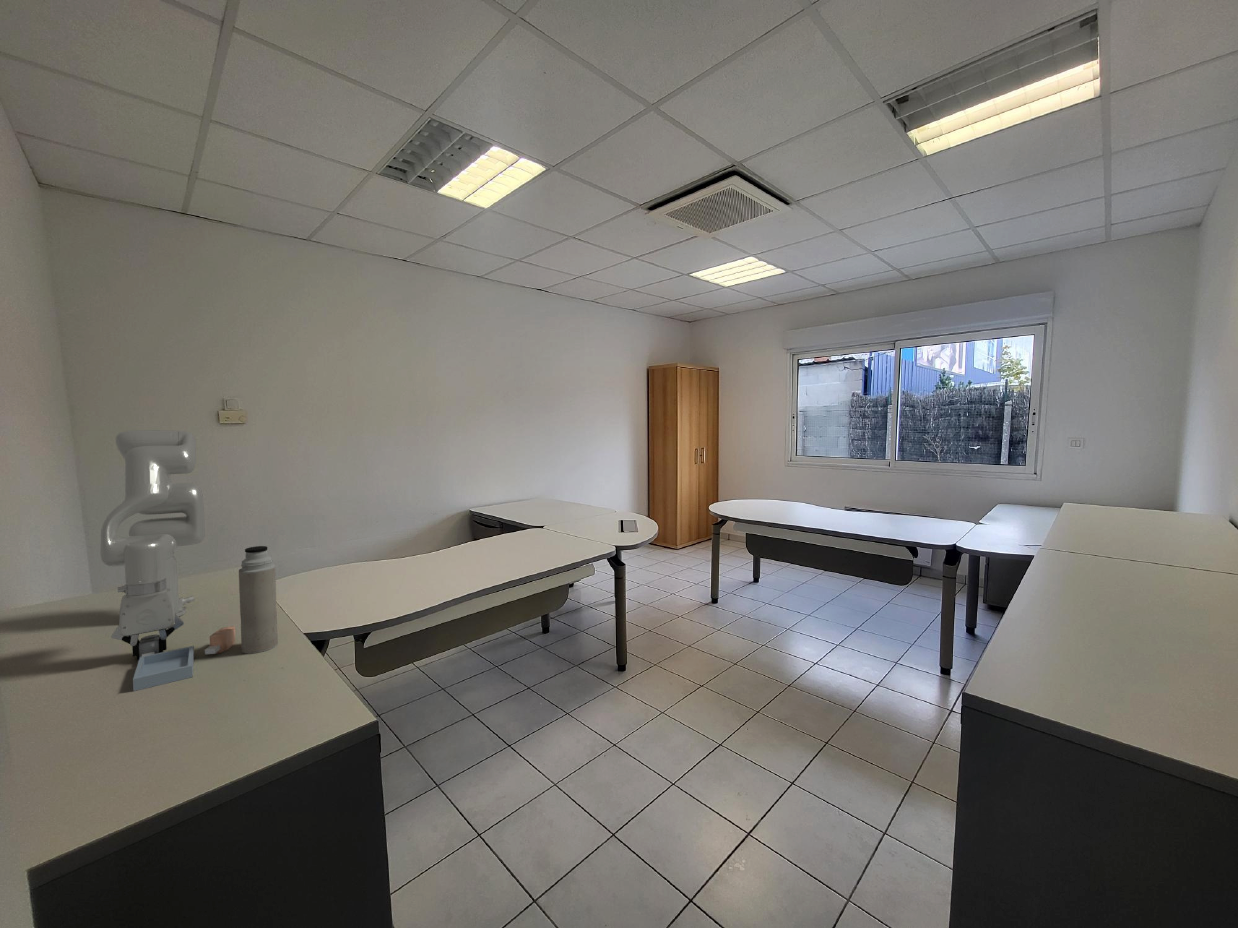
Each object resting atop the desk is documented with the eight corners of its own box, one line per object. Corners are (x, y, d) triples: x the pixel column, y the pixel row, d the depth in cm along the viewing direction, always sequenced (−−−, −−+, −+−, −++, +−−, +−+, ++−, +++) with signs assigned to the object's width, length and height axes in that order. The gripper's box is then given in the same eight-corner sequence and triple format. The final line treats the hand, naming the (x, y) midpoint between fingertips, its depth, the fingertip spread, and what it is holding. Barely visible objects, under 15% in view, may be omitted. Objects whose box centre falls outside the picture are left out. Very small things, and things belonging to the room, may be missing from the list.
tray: (140, 667, 118) (140, 656, 118) (194, 655, 125) (193, 645, 125) (133, 691, 108) (132, 679, 108) (192, 676, 114) (191, 665, 114)
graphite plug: (142, 652, 126) (141, 636, 126) (160, 648, 128) (160, 633, 128) (137, 666, 119) (136, 649, 118) (157, 662, 121) (156, 645, 121)
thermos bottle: (267, 638, 136) (263, 542, 134) (284, 644, 132) (280, 545, 131) (235, 649, 129) (231, 548, 127) (252, 656, 125) (248, 552, 123)
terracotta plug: (223, 642, 133) (222, 626, 133) (238, 640, 134) (237, 625, 134) (202, 658, 124) (201, 642, 123) (218, 656, 125) (217, 640, 124)
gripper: (97, 598, 115) (101, 671, 116) (189, 584, 126) (192, 651, 127) (102, 590, 121) (106, 659, 122) (190, 578, 131) (193, 642, 133)
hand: (150, 654), depth 124 cm, fingers closed on graphite plug, 3 cm apart
